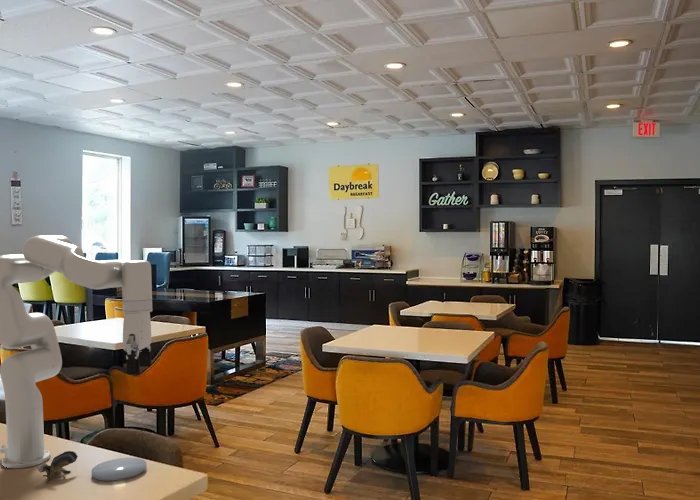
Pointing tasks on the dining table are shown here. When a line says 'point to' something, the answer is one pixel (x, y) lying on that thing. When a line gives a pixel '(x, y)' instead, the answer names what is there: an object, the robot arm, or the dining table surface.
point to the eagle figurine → (58, 465)
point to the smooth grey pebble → (118, 469)
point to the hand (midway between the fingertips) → (139, 370)
